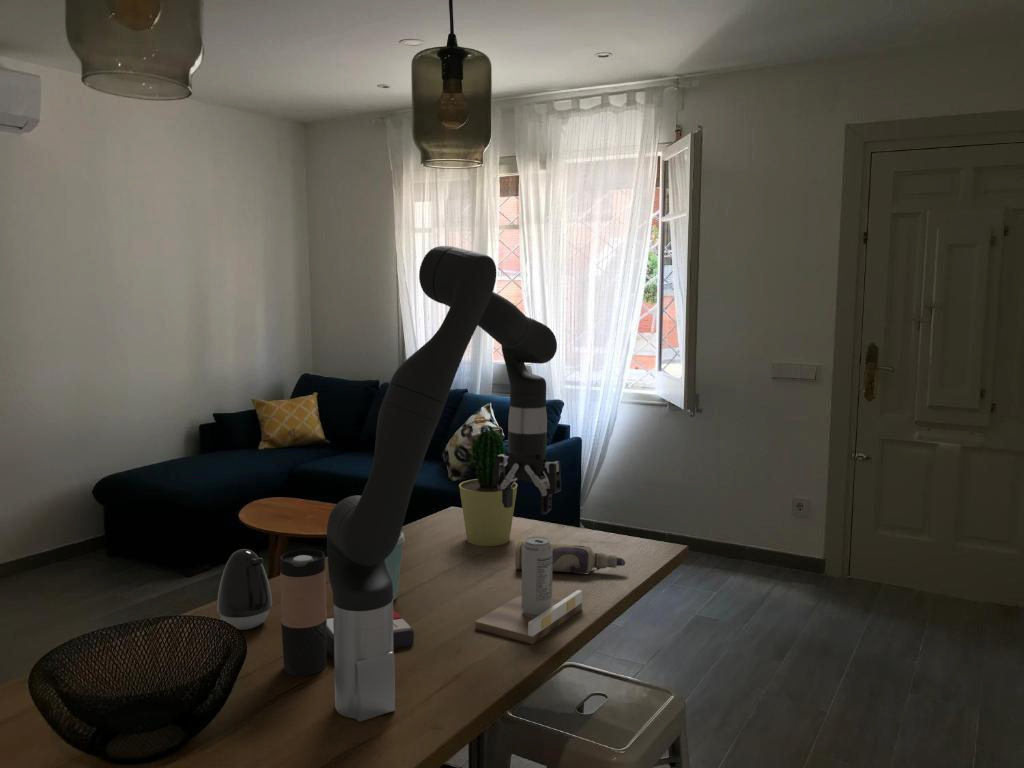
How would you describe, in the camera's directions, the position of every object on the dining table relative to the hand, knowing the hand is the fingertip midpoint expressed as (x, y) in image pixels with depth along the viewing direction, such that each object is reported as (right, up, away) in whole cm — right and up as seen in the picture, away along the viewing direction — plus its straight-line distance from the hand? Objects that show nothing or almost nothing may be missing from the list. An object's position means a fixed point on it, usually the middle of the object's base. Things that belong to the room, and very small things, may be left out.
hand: (526, 510), depth 161 cm
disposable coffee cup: (-31, -21, +14) cm, 40 cm away
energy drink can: (+2, -21, +2) cm, 21 cm away
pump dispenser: (-55, -23, 0) cm, 60 cm away
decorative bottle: (+10, -20, +31) cm, 38 cm away
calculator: (-30, -24, -7) cm, 39 cm away
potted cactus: (-9, -17, +56) cm, 59 cm away
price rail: (+6, -21, 0) cm, 22 cm away
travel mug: (-39, -25, -18) cm, 50 cm away
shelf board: (+1, -22, +3) cm, 23 cm away
